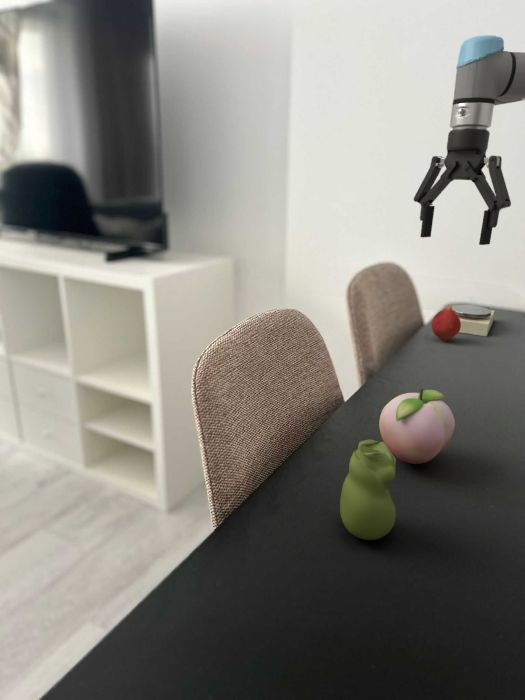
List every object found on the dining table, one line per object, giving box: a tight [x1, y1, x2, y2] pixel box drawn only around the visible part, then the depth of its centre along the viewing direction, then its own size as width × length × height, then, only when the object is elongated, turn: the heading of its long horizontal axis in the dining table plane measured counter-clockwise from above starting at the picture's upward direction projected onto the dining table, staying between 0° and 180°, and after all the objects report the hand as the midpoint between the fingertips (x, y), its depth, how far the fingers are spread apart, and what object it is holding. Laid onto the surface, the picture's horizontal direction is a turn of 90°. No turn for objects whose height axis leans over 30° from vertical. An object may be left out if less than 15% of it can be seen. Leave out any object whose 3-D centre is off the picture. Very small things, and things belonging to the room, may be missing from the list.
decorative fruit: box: [378, 388, 456, 465], centre depth 62 cm, size 9×8×10 cm
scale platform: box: [451, 303, 492, 318], centre depth 120 cm, size 9×9×1 cm
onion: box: [431, 305, 461, 342], centre depth 109 cm, size 6×6×8 cm
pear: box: [339, 438, 397, 541], centre depth 49 cm, size 6×5×10 cm
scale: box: [458, 303, 496, 337], centre depth 122 cm, size 14×10×4 cm
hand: (453, 240), depth 106 cm, fingers open, 13 cm apart
